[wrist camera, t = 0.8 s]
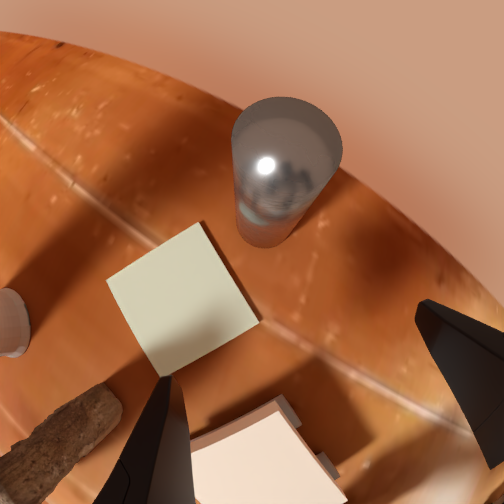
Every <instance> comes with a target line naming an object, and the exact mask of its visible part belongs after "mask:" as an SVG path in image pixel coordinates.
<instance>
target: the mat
mask: <svg viewBox="0 0 504 504" xmlns="http://www.w3.org/2000/svg"><path fill="white" fill-rule="evenodd" d="M106 281H107V283H108V285H109V287H110V289H111V291H112V293H113V295H114V297H115V299H116V301H117V303H118V305H119V307H120V309H121V311H122V313H123V315H124V317H125V319H126V321H127V322H128V324H129V326H130V328H131V330H132V331H133V333H134V335H135V337H136V339H137V340H138V342H139V344H140V345H141V347H142V349H143V351H144V352H145V354H146V356H147V357H148V359H149V360H150V362H151V364H152V365H153V367H154V368H155V370H156V372H157V373H158V375H159V376H160V377H161V376H166V375H169V374H171V373H173V372H175V371H176V370H178V369H180V368H182V367H184V366H186V365H188V364H189V363H191V362H193V361H195V360H197V359H198V358H200V357H202V356H204V355H206V354H207V353H209V352H211V351H213V350H214V349H216V348H218V347H220V346H221V345H223V344H225V343H227V342H228V341H230V340H232V339H233V338H235V337H237V336H238V335H240V334H242V333H243V332H245V331H247V330H248V329H250V328H252V327H253V326H255V325H257V324H258V323H259V321H258V320H257V318H256V316H255V315H254V313H253V312H252V310H251V308H250V307H249V305H248V304H247V302H246V300H245V299H244V297H243V295H242V294H241V292H240V291H239V289H238V287H237V286H236V284H235V282H234V281H233V279H232V277H231V276H230V274H229V272H228V271H227V269H226V268H225V266H224V264H223V263H222V261H221V259H220V258H219V256H218V254H217V253H216V251H215V249H214V247H213V246H212V244H211V242H210V241H209V239H208V237H207V236H206V234H205V232H204V231H203V229H202V227H201V225H200V224H199V222H198V223H196V224H194V225H193V226H191V227H189V228H188V229H186V230H184V231H183V232H181V233H179V234H178V235H176V236H174V237H173V238H171V239H170V240H168V241H166V242H165V243H163V244H162V245H160V246H158V247H157V248H155V249H154V250H152V251H150V252H149V253H147V254H146V255H144V256H142V257H141V258H139V259H138V260H136V261H135V262H133V263H132V264H130V265H129V266H127V267H125V268H124V269H122V270H121V271H119V272H118V273H116V274H115V275H113V276H112V277H110V278H109V279H107V280H106Z"/></svg>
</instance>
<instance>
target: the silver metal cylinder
mask: <svg viewBox="0 0 504 504" xmlns="http://www.w3.org/2000/svg"><path fill="white" fill-rule="evenodd" d="M231 142H232V159H233V176H234V192H235V208H236V222H237V228H238V231H239V233H240V235H241V236H242V238H243V239H244V240H245V241H246V242H247V243H249V244H251V245H253V246H255V247H258V248H271V247H275V246H277V245H279V244H280V243H282V242H283V241H284V240H285V239H286V238H287V236H288V235H289V234H290V232H291V231H292V230H293V228H294V227H295V226H296V224H297V223H298V222H299V220H300V219H301V218H302V216H303V215H304V214H305V212H306V211H307V210H308V208H309V207H310V206H311V204H312V203H313V202H314V200H315V199H316V198H317V196H318V195H319V194H320V192H321V191H322V190H323V188H324V187H325V185H326V184H327V183H328V181H329V180H330V179H331V177H332V176H333V175H334V173H335V172H336V170H337V169H338V167H339V165H340V162H341V158H342V151H343V150H342V149H343V148H342V141H341V136H340V134H339V131H338V129H337V127H336V126H335V124H334V123H333V121H332V120H331V119H330V118H329V117H328V116H327V115H326V114H325V113H324V112H323V111H322V110H320V109H318V108H317V107H316V106H314V105H312V104H310V103H308V102H306V101H303V100H300V99H296V98H291V97H272V98H267V99H263V100H261V101H258V102H256V103H254V104H252V105H251V106H249V107H248V108H246V109H245V110H244V111H243V112H242V113H241V114H240V116H239V117H238V118H237V120H236V122H235V124H234V126H233V130H232V137H231Z"/></svg>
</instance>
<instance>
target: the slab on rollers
mask: <svg viewBox="0 0 504 504" xmlns="http://www.w3.org/2000/svg"><path fill="white" fill-rule="evenodd" d="M301 425H302V423H301V421H300V420H299V418H298V416H297V415H296V413H295V411H294V410H293V408H292V407H291V405H290V404H289V402H288V401H287V400H286V398H285V397H284V396H283V394H280V395H279V396H277V397H275V398H274V399H272V400H270V401H268V402H267V403H265V404H263V405H261V406H259V407H258V408H256V409H254V410H252V411H250V412H248V413H246V414H245V415H243V416H241V417H239V418H237V419H235V420H233V421H231V422H229V423H227V424H225V425H223V426H221V427H219V428H217V429H214V430H212V431H210V432H208V433H206V434H204V435H201V436H199V437H197V438H195V439H192V440H190V447H191V460H192V472H193V483H194V493H195V498H196V499H197V500H198V501H199V502H200V503H201V504H343V503H345V502H346V501H348V499H347V498H346V496H345V494H344V492H343V491H342V489H341V487H340V486H339V485H338V484H337V482H336V481H335V480H336V479H338V478H339V477H340V475H339V473H338V471H337V470H336V468H335V467H334V465H333V464H332V462H331V461H330V460H329V458H328V457H327V455H326V454H325V453H324V452H321V453H320V454H318V455H316V456H315V455H314V453H313V452H312V451H311V449H310V448H309V447H308V445H307V444H306V443H305V441H304V440H303V439H302V437H301V436H300V435H299V433H298V432H297V430H296V428H298V427H299V426H301Z"/></svg>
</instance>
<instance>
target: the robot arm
mask: <svg viewBox="0 0 504 504" xmlns="http://www.w3.org/2000/svg"><path fill="white" fill-rule="evenodd" d="M415 323H416V325H417V327H418V329H419V331H420V333H421V336H422V338H423V340H424V342H425V344H426V346H427V348H428V350H429V352H430V354H431V356H432V358H433V359H434V361H435V363H436V364H437V366H438V368H439V369H440V371H441V373H442V375H443V376H444V378H445V380H446V382H447V383H448V385H449V387H450V389H451V391H452V392H453V394H454V396H455V398H456V400H457V402H458V403H459V405H460V407H461V409H462V411H463V413H464V415H465V417H466V419H467V421H468V423H469V425H470V427H471V429H472V431H473V432H474V435H475V438H476V440H477V442H478V444H479V446H480V448H481V450H482V453H483V455H484V457H485V460H486V462H487V464H488V467H489V468H490V470H491V469H493V468H494V467H496V466H497V465H499V464H500V463H502V462H503V461H504V332H501V331H499V330H497V329H495V328H493V327H491V326H488V325H486V324H484V323H482V322H480V321H477V320H475V319H473V318H471V317H468V316H466V315H464V314H462V313H460V312H457V311H455V310H453V309H451V308H448V307H446V306H444V305H441V304H439V303H437V302H435V301H432V300H430V299H426V300H423V301H421V302H419V304H418V307H417V311H416V315H415ZM119 458H120V459H118V461H117V463H116V465H115V467H114V469H113V471H112V472H111V474H110V476H109V478H108V480H107V481H106V483H105V485H104V486H103V488H102V490H101V491H100V493H99V494H98V496H97V497H96V499H95V500H94V502H93V503H92V504H196V502H195V493H194V483H193V472H192V460H191V447H190V433H189V426H188V421H187V415H186V409H185V403H184V397H183V392H182V389H181V387H180V385H179V384H178V382H177V381H176V379H175V378H174V376H173V375H166V376H161V377H160V378H159V380H158V382H157V384H156V386H155V388H154V390H153V392H152V394H151V396H150V398H149V400H148V401H147V403H146V405H145V407H144V409H143V411H142V413H141V415H140V417H139V419H138V421H137V423H136V425H135V427H134V429H133V431H132V433H131V435H130V437H129V439H128V441H127V443H126V445H125V447H124V449H123V451H122V453H121V455H120V457H119ZM493 504H504V494H503V495H502V496H501V497H500V498H499V499H498V500H497V501H496V502H494V503H493Z"/></svg>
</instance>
